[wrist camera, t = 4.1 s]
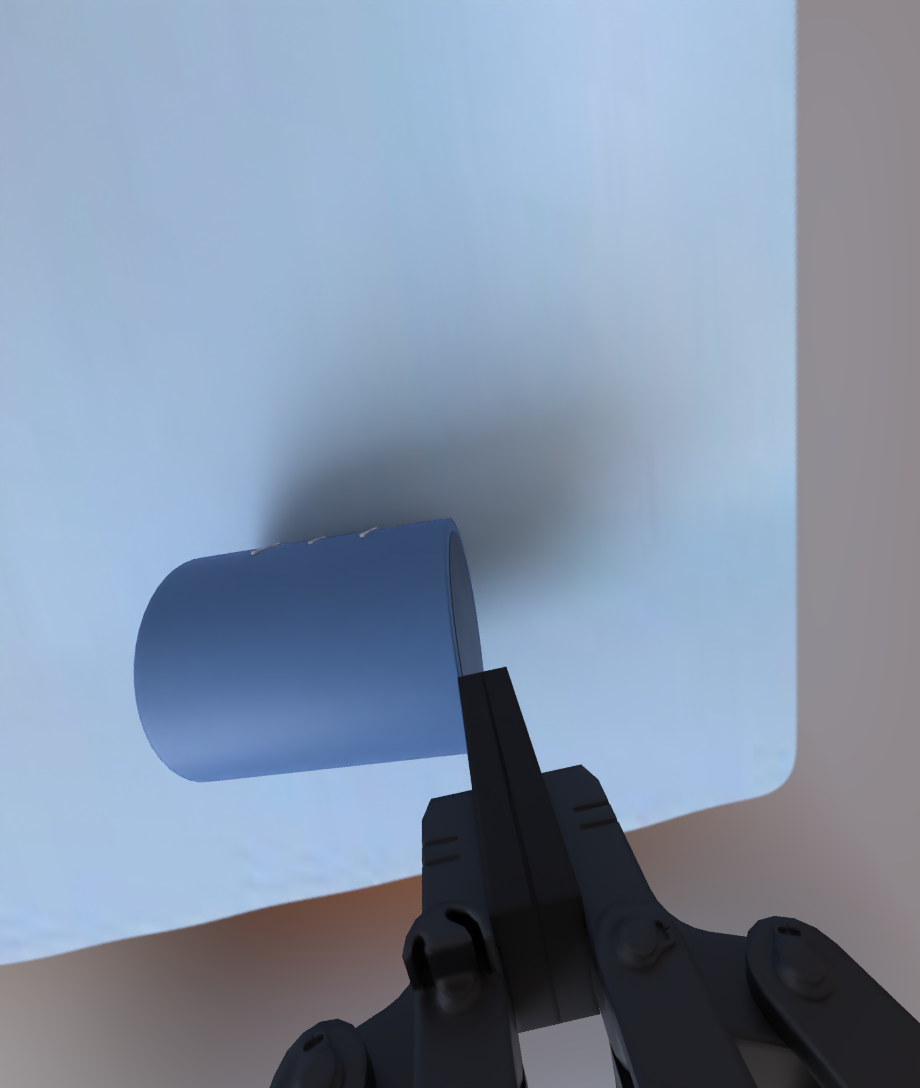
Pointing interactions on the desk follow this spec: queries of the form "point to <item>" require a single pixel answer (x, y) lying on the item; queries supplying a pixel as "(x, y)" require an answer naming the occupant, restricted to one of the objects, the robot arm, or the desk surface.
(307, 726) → the measuring cup
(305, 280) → the desk surface
